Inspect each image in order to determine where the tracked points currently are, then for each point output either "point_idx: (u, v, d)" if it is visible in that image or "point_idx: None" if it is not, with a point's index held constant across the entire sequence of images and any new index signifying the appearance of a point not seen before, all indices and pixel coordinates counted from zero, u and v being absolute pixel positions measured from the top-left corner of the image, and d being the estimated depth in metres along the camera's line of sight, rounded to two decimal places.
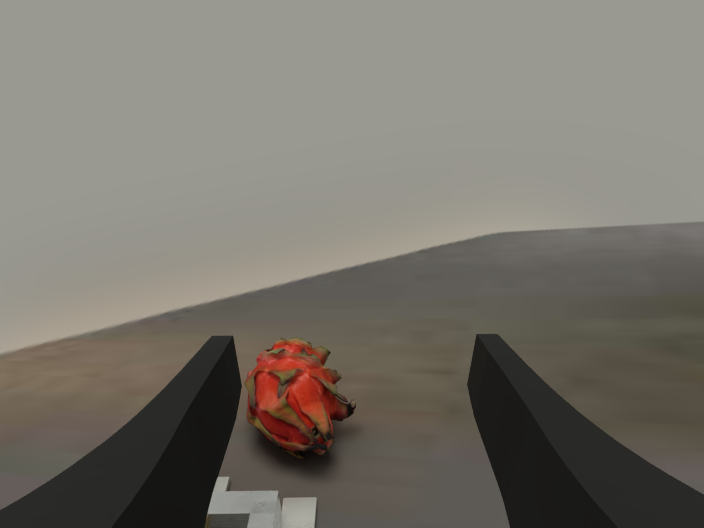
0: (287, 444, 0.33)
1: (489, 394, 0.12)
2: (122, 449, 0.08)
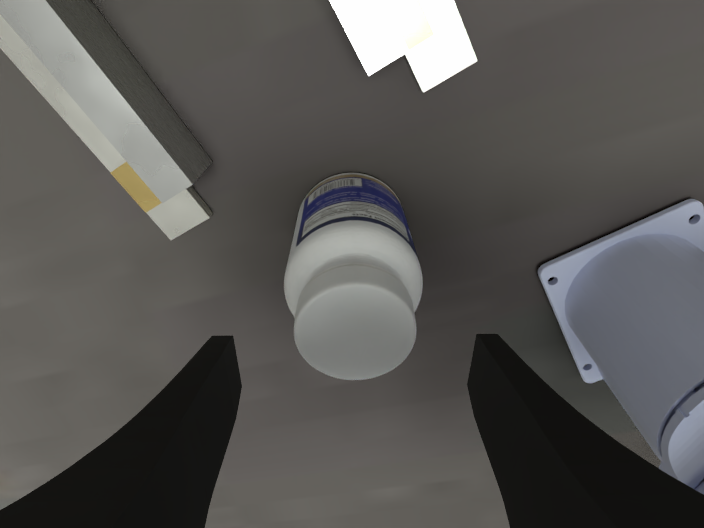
0: None
1: (489, 394, 0.12)
2: (121, 449, 0.08)
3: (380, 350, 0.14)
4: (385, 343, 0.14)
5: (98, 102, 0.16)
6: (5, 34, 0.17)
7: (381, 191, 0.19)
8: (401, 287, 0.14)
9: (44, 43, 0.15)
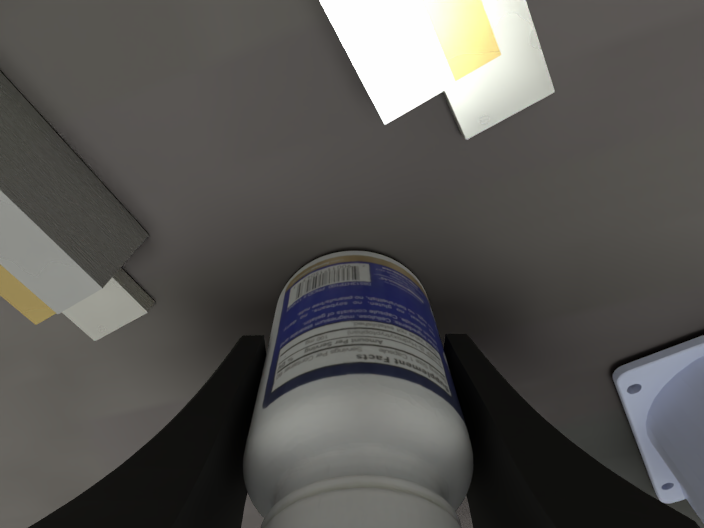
0: None
1: None
2: (168, 448, 0.08)
3: None
4: None
5: None
6: None
7: (400, 287, 0.12)
8: (449, 527, 0.08)
9: None
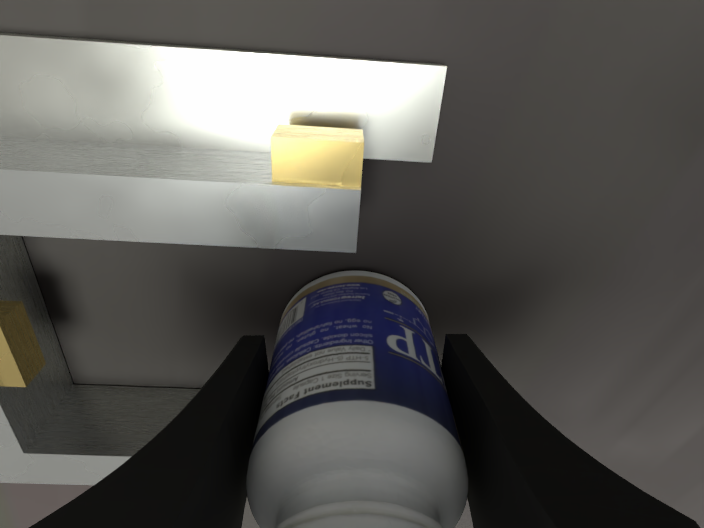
0: None
1: (456, 394, 0.12)
2: (168, 448, 0.08)
3: None
4: None
5: None
6: None
7: (331, 301, 0.13)
8: None
9: None
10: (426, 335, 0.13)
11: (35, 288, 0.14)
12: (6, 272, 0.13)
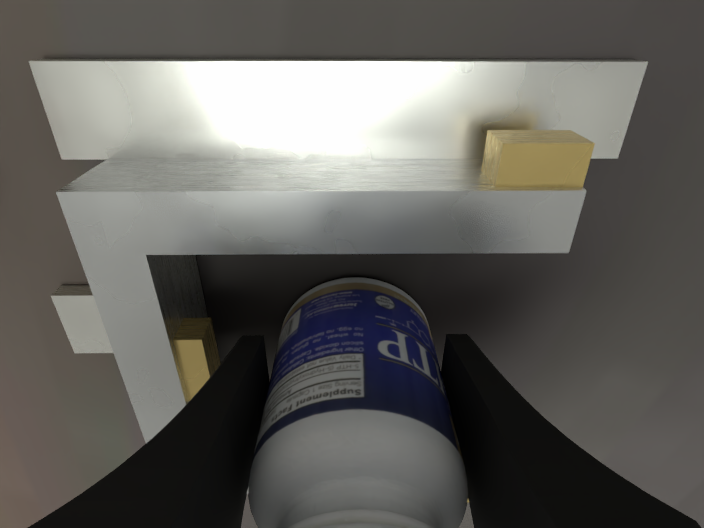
0: None
1: (456, 394, 0.12)
2: (167, 448, 0.08)
3: None
4: None
5: None
6: None
7: (324, 311, 0.13)
8: None
9: None
10: (421, 337, 0.13)
11: (203, 304, 0.15)
12: (189, 290, 0.13)
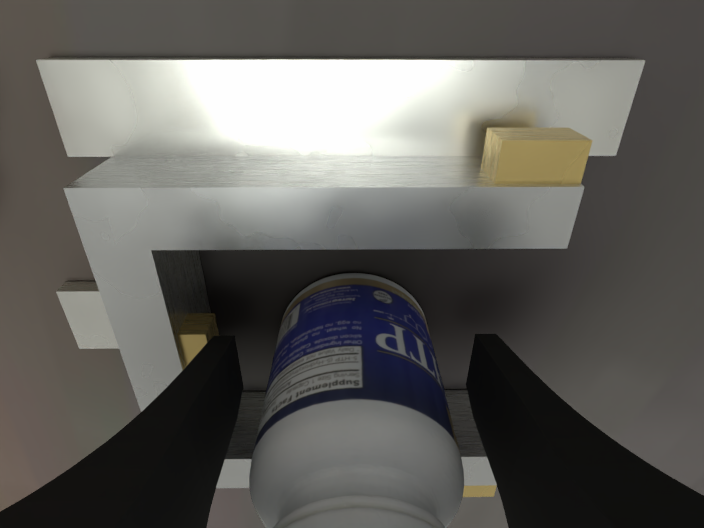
0: None
1: (488, 394, 0.12)
2: (123, 449, 0.08)
3: None
4: None
5: None
6: None
7: (323, 306, 0.13)
8: (355, 525, 0.08)
9: None
10: (418, 331, 0.13)
11: (206, 300, 0.15)
12: (193, 286, 0.14)
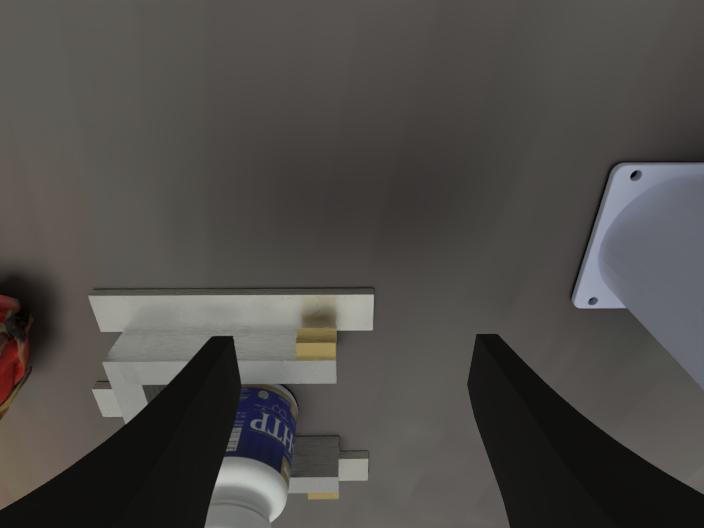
0: (24, 360, 0.22)
1: (489, 394, 0.12)
2: (122, 449, 0.08)
3: None
4: None
5: None
6: None
7: None
8: (220, 511, 0.20)
9: None
10: (280, 414, 0.25)
11: None
12: None
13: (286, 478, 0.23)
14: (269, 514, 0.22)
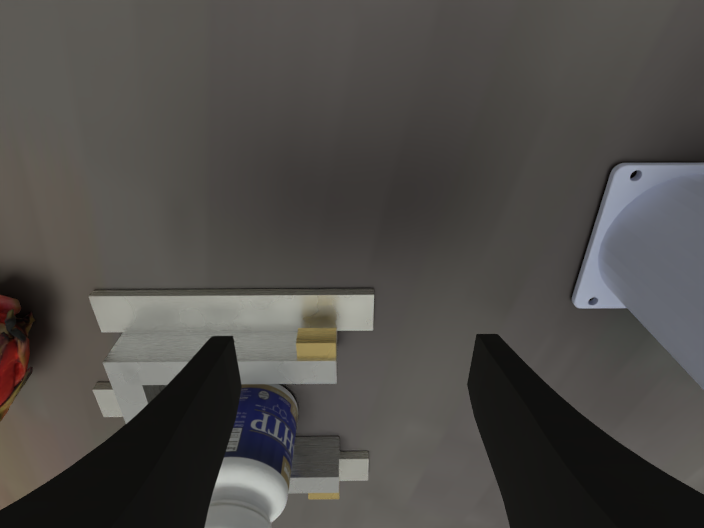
0: (24, 361, 0.22)
1: (489, 394, 0.12)
2: (122, 449, 0.08)
3: None
4: None
5: None
6: None
7: None
8: (220, 511, 0.20)
9: None
10: (280, 414, 0.25)
11: None
12: None
13: (286, 478, 0.23)
14: (269, 514, 0.22)
